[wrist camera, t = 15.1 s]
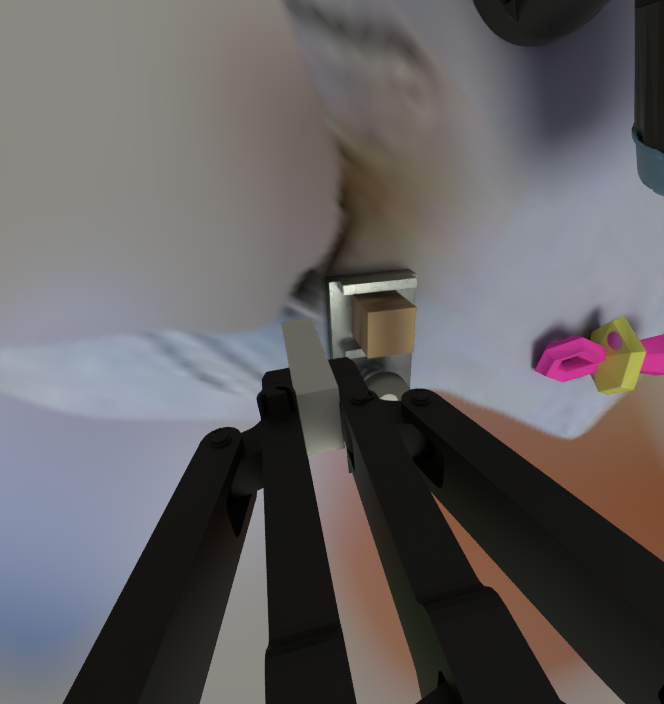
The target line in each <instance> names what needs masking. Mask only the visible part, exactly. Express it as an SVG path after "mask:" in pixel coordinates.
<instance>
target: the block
mask: <svg viewBox="0 0 664 704" xmlns="http://www.w3.org/2000/svg"><path fill="white" fill-rule="evenodd" d="M352 305H353V336H354V338H355V339H356V341H357V343H358V344H359V346H360V347H361V349H362V350H363V352H364V354H365V355H366V357H367V358H375V357H383V356H390V355H398V354H405V353H413V352H414V337H415V323H416V309H417V307H416V306H414V305H413V304H412V303H411V302H409V301H408V300H407V299H406V298H404V297H403V296H402V295H401V294H400V293H398V292H397V291H396V290H390V291H380V292H370V293H360V294H352Z"/></svg>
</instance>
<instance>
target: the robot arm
mask: <svg viewBox="0 0 664 704" xmlns="http://www.w3.org/2000/svg"><path fill="white" fill-rule="evenodd" d="M474 1H475V3H476V5H477V8H478V10H479V12H480V13H481V15H482V17H483V19H484V20H485V21H486V23H487V24H488V25H489V27H490V28H491V29H492V30H493V31H494V32H495V33H496V34H498V35H499V36H500V37H501V38H503V39H505V40H506V41H508V42H511V43H513V44H516V45H521V46H538V45H543V44H546V43H549V42H551V41H554V40H556V39H558V38H561V37H563V36H565V35H567V34H569V33H571V32H573V31H575V30H577V29H578V28H580V27H581V26H582V25H584V24H585V23H587V22H588V21H589V20H590V19H592V18H593V17H594V16H595V15H596V14H597V13H598V12H599V11H600V10H601V9H602V8H603V7H604V6H605V5H606V4H607V3H608V2H609V1H610V0H474ZM632 138H633V140H634V142H635V144H636V155H637V170H638V175H639V177H640V179H641V181H642V182H643V184H644V185H646V186H647V187H649V188H650V189H652V190H653V191H654V192H655V193H657V194H659V195H662V196H664V0H635V102H634V125H633V127H632ZM281 324H282V330H283V335H284V341H285V347H286V352H287V358H288V364H289V368H285V369H280V370H274V371H269V372H266V373H265V375H264V376H263V378H262V391H261V392H260V393H259V394H258V395H257V398H256V399H257V404H258V408H259V412H260V416H261V421H260V422H259V423H258V424H257V425H255V426H254V427H253V428H251V429H249V430H247V431H244V432H242V433H240V431H239V430H238V429H236V428H232V427H224V428H219V429H216V430H214V431H212V432H210V433H209V434H207V435H206V436H205V437H204V438H203V440H202V441H201V442H200V444H199V446H198V448H197V450H196V452H195V454H194V456H193V458H192V459H191V461H190V463H189V465H188V467H187V469H186V471H185V473H184V475H183V476H182V478H181V480H180V482H179V484H178V486H177V488H176V490H175V492H174V494H173V496H172V498H171V499H170V501H169V503H168V505H167V507H166V509H165V511H164V513H163V514H162V516H161V518H160V520H159V522H158V524H157V526H156V528H155V530H154V531H153V534H152V535H151V537H150V539H149V541H148V543H147V545H146V547H145V549H144V551H143V552H142V554H141V556H140V558H139V560H138V562H137V564H136V566H135V568H134V569H133V571H132V573H131V575H130V577H129V579H128V581H127V583H126V585H125V586H124V588H123V590H122V592H121V594H120V596H119V598H118V600H117V602H116V604H115V605H114V607H113V609H112V611H111V613H110V615H109V617H108V619H107V621H106V623H105V625H104V626H103V628H102V630H101V632H100V634H99V636H98V638H97V640H96V641H95V643H94V645H93V647H92V649H91V651H90V653H89V655H88V657H87V659H86V660H85V663H84V664H83V666H82V668H81V670H80V672H79V674H78V676H77V677H76V679H75V681H74V683H73V685H72V687H71V689H70V691H69V693H68V695H67V696H66V698H65V700H64V702H63V704H199V703H200V700H201V696H202V693H203V689H204V685H205V682H206V678H207V674H208V671H209V667H210V664H211V660H212V657H213V653H214V649H215V646H216V642H217V638H218V634H219V631H220V627H221V624H222V620H223V617H224V613H225V609H226V606H227V602H228V599H229V595H230V591H231V588H232V584H233V581H234V577H235V573H236V570H237V566H238V562H239V559H240V555H241V552H242V548H243V544H244V541H245V537H246V533H247V529H248V526H249V523H250V519H251V515H252V512H253V508H254V504H255V501H256V497H257V491H258V490H260V489H262V488H264V514H265V540H266V566H267V596H268V623H269V645H268V647H267V649H266V654H265V700H266V704H357V703H356V698H355V693H354V688H353V683H352V678H351V672H350V668H349V662H348V657H347V652H346V647H345V642H344V637H343V632H342V628H341V624H340V619H339V614H338V609H337V604H336V599H335V594H334V589H333V584H332V579H331V573H330V568H329V563H328V558H327V552H326V547H325V542H324V537H323V532H322V527H321V522H320V517H319V512H318V507H317V501H316V496H315V491H314V486H313V481H312V476H311V470H310V465H309V460H308V456H310V455H314V454H320V453H324V452H329V451H334V450H338V449H342V448H345V445H344V441H345V444H346V447H347V458H348V467H349V473H353V476H354V479H355V483H356V486H357V489H358V492H359V495H360V498H361V501H362V504H363V507H364V510H365V513H366V517H367V520H368V523H369V526H370V529H371V532H372V535H373V538H374V541H375V544H376V547H377V550H378V554H379V557H380V560H381V563H382V566H383V569H384V572H385V575H386V578H387V581H388V585H389V587H390V591H391V594H392V597H393V600H394V603H395V606H396V609H397V612H398V615H399V619H400V622H401V625H402V628H403V631H404V634H405V637H406V640H407V643H408V646H409V649H410V653H411V656H412V659H413V662H414V665H415V669H416V673H417V677H418V683H419V688H420V692H421V697H422V699H421V700H420V701H419V702H418V703H416V704H566V703H564V702H563V701H561V700H560V699H559V697H558V695H557V694H556V692H555V690H554V688H553V687H552V685H551V683H550V681H549V680H548V678H547V676H546V674H545V673H544V671H543V669H542V668H541V666H540V664H539V662H538V661H537V659H536V657H535V655H534V654H533V652H532V650H531V649H530V647H529V645H528V643H527V641H526V640H525V638H524V636H523V635H522V633H521V631H520V629H519V628H518V626H517V624H516V622H515V621H514V619H513V617H512V615H511V614H510V612H509V610H508V609H507V607H506V605H505V604H504V602H503V601H502V599H501V598H500V596H499V595H498V593H497V592H496V591H495V590H494V589H493V588H491V587H487V586H483V584H482V583H481V582H480V581H479V579H478V578H477V577H476V574H475V573H474V571H473V569H472V567H471V565H470V563H469V562H468V560H467V558H466V556H465V554H464V552H463V551H462V549H461V547H460V545H459V543H458V541H457V540H456V538H455V536H454V534H453V532H452V530H451V529H450V527H449V525H448V523H447V521H446V519H445V518H444V516H443V514H442V512H441V510H440V509H439V507H438V505H437V503H436V501H435V499H434V498H433V496H432V494H431V492H432V493H433V495H435V497H436V498H437V499H438V500H439V501H440V502H441V503H442V505H443V506H444V507H445V508H446V509H447V510H448V511H449V512H450V513H451V514H452V516H453V517H454V518H455V519H456V520H457V521H458V522H459V523H460V524H461V525H462V527H463V528H464V529H465V530H466V531H467V532H468V533H469V534H470V535H471V537H472V538H473V539H474V540H475V541H476V542H477V543H478V544H479V545H480V546H481V547H482V549H483V550H484V551H485V552H486V553H487V554H488V555H489V556H490V557H491V559H492V560H493V561H494V562H495V563H496V564H497V565H498V566H499V567H500V568H501V570H502V571H503V572H504V573H505V574H506V575H507V576H508V577H509V578H510V579H511V581H512V582H513V583H514V584H515V585H516V586H517V587H518V588H519V589H520V591H521V592H522V593H523V594H524V595H525V596H526V597H527V598H528V599H529V601H530V602H531V603H532V604H533V605H534V606H535V607H536V608H537V609H538V610H539V612H540V613H541V614H542V615H543V616H544V617H545V618H546V619H547V620H548V621H549V623H550V624H551V625H552V626H553V627H554V628H555V629H556V630H557V631H558V632H559V634H560V635H561V636H562V637H563V638H564V639H565V640H566V641H567V642H568V644H569V645H570V646H571V647H572V648H573V649H574V650H575V651H576V652H577V653H578V654H579V656H581V658H582V659H583V660H584V661H585V662H586V663H587V664H588V666H589V667H590V668H591V669H592V670H593V671H594V672H595V673H596V674H597V675H598V676H599V677H600V678H601V679H602V680H603V681H604V682H605V684H606V685H607V686H608V687H609V688H610V689H611V690H612V691H613V692H614V693H615V694H616V695H617V696H618V697H619V698H620V699H621V700H622V701H623V702H624V703H626V704H664V562H663V561H662V560H660V559H659V558H658V557H656V556H655V555H654V554H652V553H651V552H649V551H648V550H647V549H646V548H644V547H643V546H642V545H640V544H639V543H637V542H636V541H635V540H633V539H632V538H631V537H629V536H628V535H627V534H625V533H624V532H623V531H621V530H620V529H619V528H617V527H616V526H614V525H613V524H612V523H610V522H609V521H608V520H606V519H605V518H604V517H602V516H601V515H599V514H598V513H597V512H596V511H594V510H593V509H592V508H590V507H589V506H587V505H586V504H585V503H583V502H582V501H581V500H579V499H578V498H577V497H575V496H574V495H573V494H571V493H570V492H569V491H567V490H566V489H565V488H563V487H562V486H560V485H559V484H558V483H556V482H555V481H554V480H552V479H551V478H550V477H548V476H547V475H545V474H544V473H543V472H542V471H540V470H539V469H537V468H536V467H535V466H533V465H532V464H531V463H529V462H528V461H526V460H525V459H524V458H523V457H521V456H520V455H519V454H517V453H516V452H515V451H513V450H512V449H510V448H509V447H508V446H506V445H505V444H504V443H502V442H501V441H500V440H498V439H497V438H495V437H494V436H493V435H492V434H490V433H489V432H488V431H486V430H485V429H484V428H482V427H481V426H479V425H478V424H477V423H475V422H474V421H473V420H471V419H470V418H469V417H467V416H466V415H465V414H463V413H462V412H461V411H459V410H458V409H456V408H455V407H454V406H452V405H451V404H450V403H448V402H447V401H446V400H444V399H443V398H442V397H440V396H439V395H438V394H436V393H434V392H433V391H431V390H427V389H412V390H408V391H406V392H405V393H404V394H403V395H402V396H401V401H391V400H383V399H379V397H378V395H377V394H376V393H375V392H374V391H371V390H369V389H368V387H367V385H366V383H365V381H364V379H363V377H362V376H361V374H360V372H359V370H358V369H357V366H356V364H355V362H354V361H353V360H351V359H350V358H348V357H342V358H336V359H330V360H327V357H326V354H325V352H324V349H323V347H322V344H321V342H320V339H319V337H318V334H317V331H316V329H315V326H314V324H313V321H312V319H311V318H307V319H301V320H295V321H289V322H283V323H281ZM430 491H431V492H430Z"/></svg>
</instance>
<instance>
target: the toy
mask: <svg viewBox="0 0 664 704" xmlns="http://www.w3.org/2000/svg"><path fill="white" fill-rule="evenodd" d="M576 356H578V357H577V358H574V359H571V360H568V361H565V362H562V361H563V360H566V359H569V358H573V357H576ZM535 371H537V372H539V373H541V374H542V375H544V376H547V377H549V378H552V379H555V380H558V381H561V382H566V381H569V380H572V379H575V378H579V377H582V376H585V375H589V374H590V375H591V377H592V379H593V381H594V383H595V385H596V387H597V389H598V392H601V393H604V394H607V395H610V394H615V393H620V392H625V391H630V390H634V388H635V385H636V382H637V379H638V376H639V373H643V374H649V375H664V334H663V335H659V336H655V337H651V338H646V339H642V340H639V339H638V337H637V336H636V334H635V332H634V331H633V329H632V327H631V326H630V324H629V323H628V321H627V319H626V318H625V316H624V317H621V318H619V319H616V320H614V321H611V322H610V323H608V324H606V325H604V326H602V327H600V328H598V329H596V330H594V331H592V332H591V337H590V340H588V339H586V338H584V337H581V336H578V335H573V336H570V337H567V338H564V339H562V340H559V341H556V342H553V343H550V344H548V345H547V347H546V349H545V350H544V352H543V354H542V356H541V358H540V360H539V362H538V364H537V367H536V369H535Z"/></svg>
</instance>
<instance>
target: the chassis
mask: <svg viewBox="0 0 664 704" xmlns="http://www.w3.org/2000/svg"><path fill="white" fill-rule="evenodd" d="M416 287H417V277H416V273H415V272H413V271H412V270H410V269H407V270H398V271H388V272H378V273H369V274H359V275H349V276H340V277H330V278H326V291H327V309H328V326H329V344H330V359H336V358H342V357H348V358H350V359H351V360H353V361H354V362H355V364H356V366H357V369H358V370H359V372H360V374H361V376H362V377H363V379H364V381H365V380H366V379H367V378H369V377H370V376H372V375H374V374H376V373H379V372H385V371H388V372H394V373H396V374H398V375H400V376H401V377H402V378H403V380H404V381H405V382H406V384H407V385H408V386H409V388H410V376H411V359H412V353H405V354H398V355H390V356H383V357H375V358H367V357H366V355H365V354H364V352H363V350H362V349H361V347H360V346H359V344H358V343H357V341H356V339H355V338H354V336H353V305H352V294H360V293H370V292H380V291H390V290H396V291H397V292H398V293H400V294H401V295H402V296H403V297H404V298H406V299H407V300H408V301H409V302H411V303H412V304H413V305H414V306H415V289H416Z"/></svg>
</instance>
